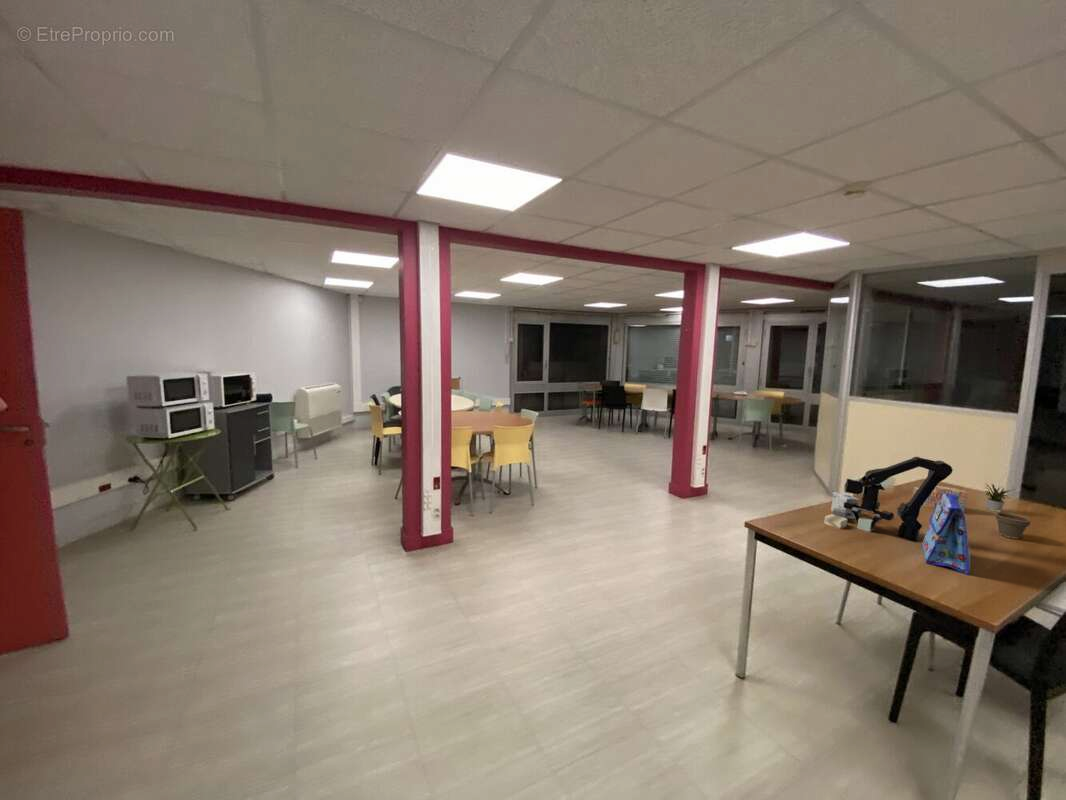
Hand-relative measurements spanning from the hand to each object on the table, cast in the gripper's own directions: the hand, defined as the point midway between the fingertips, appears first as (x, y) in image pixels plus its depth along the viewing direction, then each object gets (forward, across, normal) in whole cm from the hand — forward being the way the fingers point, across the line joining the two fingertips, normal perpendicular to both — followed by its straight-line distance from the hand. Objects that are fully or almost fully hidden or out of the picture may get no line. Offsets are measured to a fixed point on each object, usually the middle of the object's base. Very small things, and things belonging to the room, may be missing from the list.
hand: (865, 526), depth 208 cm
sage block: (+1, 0, 0) cm, 1 cm away
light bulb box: (+1, +13, -12) cm, 18 cm away
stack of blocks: (+1, -12, -78) cm, 79 cm away
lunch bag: (+1, -30, +8) cm, 31 cm away
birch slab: (+1, +10, +8) cm, 13 cm away
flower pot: (+1, -42, -57) cm, 71 cm away
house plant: (+1, -30, -104) cm, 108 cm away
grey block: (+1, +12, -2) cm, 12 cm away
